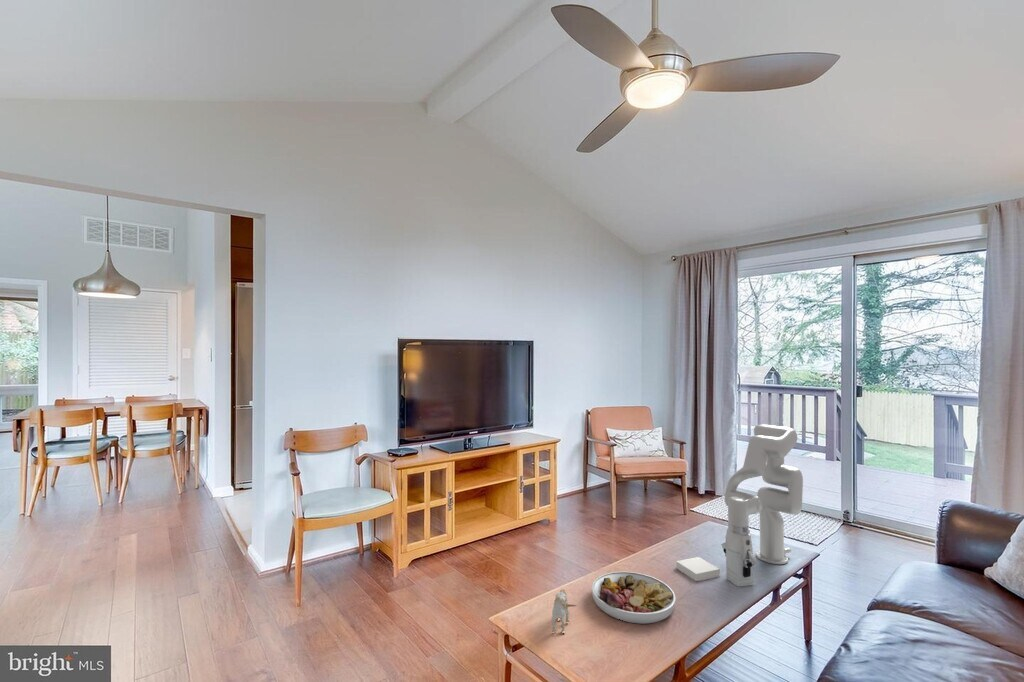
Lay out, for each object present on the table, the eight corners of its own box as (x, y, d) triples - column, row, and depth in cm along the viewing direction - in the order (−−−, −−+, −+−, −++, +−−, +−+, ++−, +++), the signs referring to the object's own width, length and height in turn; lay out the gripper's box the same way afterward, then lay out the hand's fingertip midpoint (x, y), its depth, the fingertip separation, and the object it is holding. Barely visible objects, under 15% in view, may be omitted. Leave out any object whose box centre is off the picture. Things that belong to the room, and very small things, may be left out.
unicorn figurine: (554, 648, 145) (554, 605, 146) (547, 613, 165) (547, 575, 165) (576, 648, 146) (576, 605, 146) (567, 613, 165) (567, 575, 165)
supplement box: (754, 585, 185) (753, 553, 185) (737, 587, 183) (737, 555, 184) (741, 576, 192) (741, 545, 192) (725, 578, 191) (725, 547, 191)
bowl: (619, 576, 193) (619, 557, 193) (690, 604, 171) (689, 583, 171) (575, 603, 172) (575, 582, 172) (649, 640, 150) (649, 615, 150)
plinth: (698, 563, 203) (698, 556, 203) (719, 576, 192) (719, 569, 192) (676, 568, 199) (676, 561, 199) (696, 581, 188) (696, 573, 188)
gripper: (763, 535, 181) (763, 580, 181) (728, 519, 198) (728, 561, 197) (748, 537, 179) (749, 583, 178) (714, 521, 195) (714, 563, 195)
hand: (738, 571), depth 188 cm, fingers closed on supplement box, 7 cm apart
